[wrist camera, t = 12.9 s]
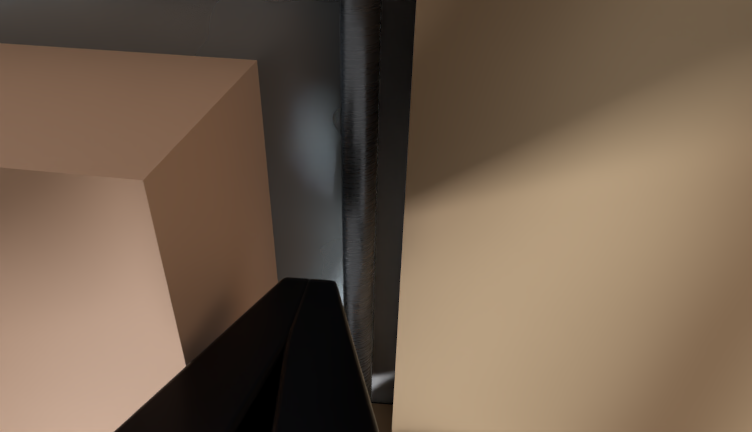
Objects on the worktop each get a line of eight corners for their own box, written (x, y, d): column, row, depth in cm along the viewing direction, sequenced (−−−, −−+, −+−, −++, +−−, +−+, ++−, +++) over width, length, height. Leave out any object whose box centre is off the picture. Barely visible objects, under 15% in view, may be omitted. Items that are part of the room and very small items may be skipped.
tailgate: (388, -145, 8) (379, -143, 7) (373, 404, 14) (367, 440, 13) (-253, -163, 8) (-331, -163, 8) (0, 358, 15) (-28, 389, 14)
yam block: (257, 60, 8) (142, 180, 5) (284, 353, 12) (222, 525, 9) (-121, 34, 9) (-407, 131, 6) (8, 320, 12) (-137, 471, 9)
